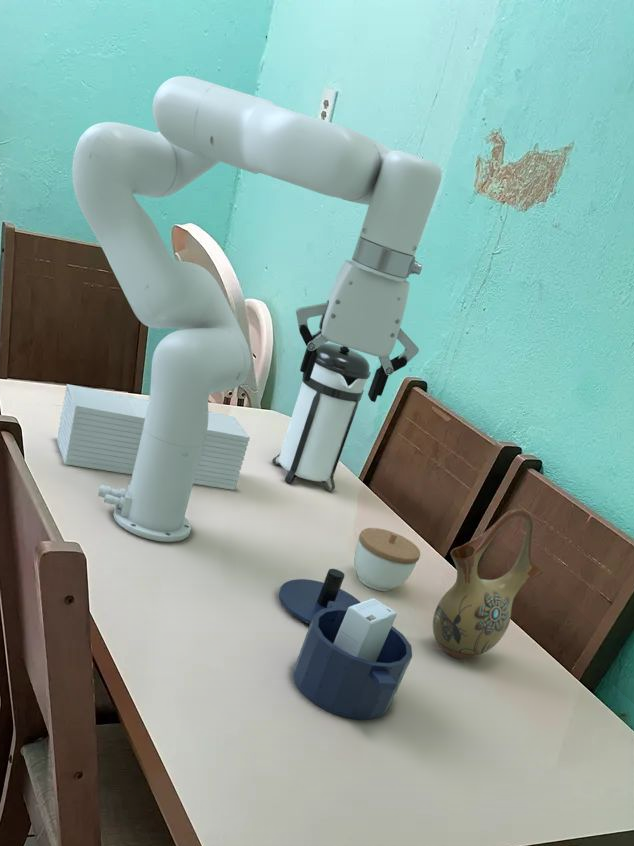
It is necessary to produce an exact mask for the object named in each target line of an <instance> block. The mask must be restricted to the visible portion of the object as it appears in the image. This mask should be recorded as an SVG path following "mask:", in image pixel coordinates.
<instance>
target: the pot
mask: <svg viewBox="0 0 634 846" xmlns="http://www.w3.org/2000/svg"><path fill="white" fill-rule="evenodd" d="M347 609H348V608H347V607H346V605H345V604H344V603H342V602H334V601H329V602H328V604H327V608H326V609H321V610H320V611H319V612H317V613H316V614H315V615H314V616H313V618H312V621H311V624H309V627H308V629H307V632H306V634H305V637H304V641H303V643H302V645H301V648H300V651H299V654H298V656H297V659H296V661H295V665H294V669H293V675H292V677H293V681H294V683H295V685H296V687H297V689H298V691H300V693H301V694H302V695H303V696H304V697H305V698H306V699H307V700H309V701H310V702H311V703H313V704H314V705H315V706H317V707H319V708H321V709H323V710H325V711H326V712H329V713H332V714H334V715H336V716H339V717H342V718H346V719H347V718H348V719H352V720H372V719H377V718H379V717H381V716H383V715H384V714H385V713H386V712H387V711H388V709H389V708H390V706H392V702H393V701H394V698H395V697H396V694H397V691H398V690H399V688H400V686H401V682H402V680H403V678H404V676H405V674H406V671H407V670H408V668H409V665H410V663H411V660H412V658H413V649H412V645H411V644H410V642H409V640H408V639H407V638H406V636H405V635H404V634H403V633H402V632H401V631H400V630H398V629H397V628H396V627H394V626H393V625H392V627H391V629H390V631H389V633H388V636H387V638H386V640H385V642H384V645H383V647H382V649H381V651H380V654H379V656H378V658H377V661H376V662H371V661H367V660H364V659H361V658H358V657H355V656H352V655H350V654H348V653H347V652H345V651H343V650H341V649H339V648H337V647H336V646H335V645H334V644H333V643H334V641H335V638H336V636H337V634H338V631H339V629H340V626H341V624H342V622H343V619H344V617H345V614H346V612H347Z"/></svg>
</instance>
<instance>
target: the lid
mask: <svg viewBox="0 0 634 846" xmlns="http://www.w3.org/2000/svg"><path fill="white" fill-rule="evenodd" d="M345 577H346V576H345V573H344V572H343V571H342V570H339V569H336V568H329V569H328V570H327V573H326V575H325V579H324V581H319V580H314V579H307V578H299V579H291V580H287V581H286V582H284V583H283V584H282V585H281V586H280V588H279V590H278V598H279V601H280V603H281V604H282V606H283V607H284V608H285V609H286V611H288V612H289V613H290V614H292V616H294V617H295V618H297V619H299V620H300V621H302V622H304V623H306V624H308V625H310V624H311V621H312V618H313V616H314V615H315V614H316V613H317V612H319V611H320V610H321V609H326V608H327V604H328V602H329V601H334V602H342V603H344V604H345V605H346V607H347V608H348V607H350V606H353V605H356V604H358V603H361V601H360V600H359V599H358V598H357V597H355V596H354V595H352V594H351V593H349V592H347V591H346V590H344V589H342V588H341V587H342V584H343V582H344V578H345Z"/></svg>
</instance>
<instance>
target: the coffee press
mask: <svg viewBox="0 0 634 846" xmlns="http://www.w3.org/2000/svg"><path fill="white" fill-rule="evenodd" d="M317 354H318V355H317V359H316V362H315V365H314V368H313V371H312V374H311V377H310V380H309V381H308V382H307V381H304V379H303V377H302V378H301V380H302V382H301V386H300V389H299V392H298V395H297V397H296V401H295V404H294V408H293V411H292V414H291V416H290V417H291V418H290V420H289V424H288V427H287V430H286V433H285V437H284V440H283V443H282V446H281V449H280V452H279V454H278V455H277V456H275V457H273V458H272V464H273V465H274V466H279V465H280V466H281V467H282V468H283V469H284V470H286V471H287V472H288V473H287V474H286V476H285V477H284V482H286V483H288V484H289V485H292V484H293V483H294V482H295V480H296V479H297V478H301V479H304V480H308V481H312V482H321V483H322V484H323V485H324V487H325V489H326V491H328V492H331V491H334V490H335V489H336V484H335V480H334V479H335V478H334V476H335V473H336V470H337V466H338V464H339V461H340V458H341V455H342V452H343V449H344V447H345V445H346V441H347V438H348V435H349V432H350V429H351V427H352V423H353V421H354V418H355V415H356V412H357V409H358V406H359V402H360V401H361V400H362V397H363V395H364V392H365V390H364V388H365V385H366V383H367V380H368V379H370V378H371V375H372V373H371V370H370V369H371V368H370V363H369V361H368V359H367V358H366V357H365V356H364V355H362V354H361V353H359V352H357V351H356V350H354V349H351V348H348V347H345V346H342V345H338V344H335V343H327V342H326V343H324V344H323V345H321V346H320V347H318V348H317ZM277 459H278V461H279V463H278V462H277ZM328 480H330V484H331V488H330V486H329V483H328V482H327V481H328Z"/></svg>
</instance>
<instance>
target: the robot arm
mask: <svg viewBox="0 0 634 846" xmlns="http://www.w3.org/2000/svg"><path fill="white" fill-rule="evenodd" d="M152 118H153V122H154V124H155V126H156V129H157V130H158V131H157V132H155V131H151V130H149V129H144V128H141V127H138V126H134V125H131V124H126V123H123V122H117V121H105V122H104V121H103V122H99V123H95V124H93V125H91V126H89V127H88V128H87V129H86V130H85V131H84V132H82V134H81V135H80V137H79V139H78V141H77V144H76V146H75V149H74V152H73V157H72V164H71V165H72V167H71V169H72V170H71V171H72V172H71V175H72V186H73V192H74V195H75V198H76V201H77V204H78V207H79V209H80V210H81V213H82V215H83V217H84V219H85V221H86V222H87V225H88V226H89V228H90V230H91V231H92V233H93V235H94V236H95V239H96V240H97V242H98V244H99V245H100V247H101V249H102V251H103V253H104V255H105V257H106V259H107V261H108V263H109V266H110V269H111V270H112V272H113V274H114V276H115V278H116V280H117V282H118V284H119V286H120V288H121V290H122V292H123V293H124V296H125V299H126V300H127V302H128V304H129V306H130V309H131V310H132V312H133V313H134V315H135V317H136V318H137V319H138V321H139V322H140V323H141V324H142V325H144V326H146V327H149V328H150V329H158V330H160V329H163V330H165V329H168V330H169V329H178V330H175V331H173V332H170V333H168V334H167V335H166V336H164V337H163V338H162V339H161V340H160V341H159V342H158V344H157V346H156V347H155V349H154V352H153V354H152V359H151V369H150V388H149V389H150V390H149V397H148V400H149V402H148V408H147V413H146V417H145V422H144V427H143V431H142V436H141V440H140V444H139V449H138V453H137V457H136V462H135V466H134V470H133V475H132V474H131V480H130V484H128V485H127V488H122V487H121V488H120V489H118V488H115V487H112V486H108V485H106V484H100V486H99V491H98V497H101V498H104V501H103V503H104V504H109V505H115V507H114V510H113V518H114V520H115V522H116V523H117V525H119V526H120V527H121V528H123V529H124V530H126V531H127V532H129V533H131V534H133V535H135V536H138V537H141V538H143V539H147V540H151V541H156V542H164V543H173V542H181V541H183V540H185V539H187V538H188V537H189V536H190V533H191V530H192V524H191V522H190V521H189V520H188V518H187V517H186V516H185V515H186V512H187V508H188V505H189V501H190V497H191V493H192V490H193V485H194V484H193V482H194V478H195V475H196V471H197V467H198V464H199V460H200V456H201V452H202V449H203V445H204V440H205V437H206V433H207V428H208V419H209V413H208V411H209V399H210V395H213V394H218V393H225V392H229V391H231V390H235V389H237V388H238V387H240V386H242V384H243V383H244V382H245V381H246V380H247V378H248V376H249V374H250V371H251V365H252V359H251V351H250V347H249V344H248V342H247V340H246V337H245V335H244V333H243V331H242V328H241V327H240V324H239V322H238V321H237V319H236V316H235V313H234V312H233V310H232V308H231V306H230V304H229V302H228V300H227V298H226V296H225V294H224V292H223V290H222V288H221V286H220V284H219V283H218V281H217V280H216V278H215V277H214V276H213V274H211V272H210V271H208V269H206V268H205V267H203V266H202V265H200V264H197V263H194V262H190V261H181V260H177V259H176V258H174V257H173V255H172V254H171V253H170V251H169V249H168V247H167V246H166V243H165V242H164V240H163V239H162V236H161V234H160V232H159V229H158V227H157V226H156V224H155V222H154V220H153V219H152V218H151V217H150V215H149V214H148V213H147V212H146V211H145V209H144V208H143V207H142V206H141V204H140V203H139V202H138V201H137V199H136V197H135V195H139V196H143V197H150V198H165V197H169V196H171V195H174V194H175V193H177V192H179V191H180V190H182V189H183V188H185V187H187V186H188V185H189V184H191V183H192V182H194V181H195V180H196V179H198V178H199V177H201V176H202V175H204V174H205V173H207V172H208V171H209V170H211V169H212V168H214V167H215V166H217V165H218V164H219V163H223V164H226V165H229V166H232V167H235V168H237V169H241V170H243V171H246V172H249V173H252V174H254V175H257V174H263V175H265V176H268V177H272V178H274V179H277V180H280V181H283V182H285V183H288V184H292V185H294V186H297V187H301V188H303V189H306V190H309V191H312V192H315V193H318V194H321V195H324V196H327V197H332V198H336V199H341V200H343V201H347V202H352V203H356V204H361V205H367V210H366V214H365V217H364V220H363V223H362V226H361V230H360V232H359V236H358V239H357V242H356V245H355V248H354V250H353V254H352V257H351V260H349V259H344V260H343V263H342V264H341V266H340V268H339V270H338V273H337V275H336V277H335V279H334V282H333V284H332V287H331V289H330V291H329V294H328V297H327V300H326V302H323V303H317V304H311V305H307V306H301V307H298V308H296V310H295V312H296V320H297V325H298V331H299V334H300V336H301V338H302V340H303V342H304V344H305V347H306V349H305V352H304V355H303V358H302V361H301V363H300V368H299V372H300V373H302V378H303V379H304V381H307V382H308V381H309V380H310V377H311V374H312V371H313V368H314V365H315V362H316V359H317V355H318V354H317V348H318V347H320V346H321V345H323V344H325V343H327V342H330V343H332V344H335V345H339V346H342V347H343V346H345V347H348V349H351V350H353V351H356V352H357V351H358V352H361V353H364V354H367V355H370V356H374V357H377V358H378V360H379V362H380V366H379V367H378V368H376V371H375V373H374V375H373V378H372V381H371V384H370V387H369V389H368V392H367V396H368V398H369V400H370V402H373V403H376V402H377V398H378V396H379V397H382V395H383V392H384V390H385V388H386V385H387V382H388V380H389V376H391V375H393V373H394V372H397V371H399V370H401V369H402V368H404V367H406V366H407V364H408V363H409V362H410V361H411V360H413V358H415V356H416V355H418V353H419V352H420V351H419V350H420V348H419V347H418V346H417V345H416V343H415V342H414V341H413V340H412V339H411V338H410V337H409V335H408V334H407V333H406V332H405V331H404V330H403V329H402V328H401V325H402V322H403V318H404V314H405V310H406V306H407V301H408V296H409V291H410V281H408V280H407V279H408V278H409V276H411V275H414V274H415V275H418V276H419V275H420V274H421V272H422V269H423V263H420V262H418V261H417V260H416V256H415V255H416V253H417V250H418V247H419V244H420V242H421V239H422V235H423V233H424V230H425V228H426V225H427V222H428V219H429V216H430V213H431V210H432V208H433V206H434V202H435V199H436V196H437V193H438V191H439V188H440V186H441V185H440V184H441V182H442V170H441V168H440V166H439V165H438V164H437V163H435V162H433V161H430V160H428V159H426V158H423V157H421V156H418V155H415V154H412V153H411V152H410V153H409V152H406V151H402V150H399V149H392V148H390V147H388V146H386V145H384V144H383V143H381V142H380V141H378V140H376V139H374V138H372V137H369V136H367V135H365V134H362V132H361V133H360V132H358V131H356V130H354V129H351V128H349V127H346V126H344V125H341V124H336V123H333V122H330V121H327V120H324V119H321V118H316V117H314V116H310V115H307V114H304V113H301V112H297V111H294V110H291V109H288V108H284V107H281V106H278V105H276V104H275V103H274V102H273V101H271V100H268V99H265V98H263V97H259V96H255V95H252V94H248V93H246V92H242V91H239V90H236V89H233V88H230V87H226V86H223V85H220V84H216V83H214V82H210V81H207V80H204V79H201V78H198V77H194V76H188V75H178V76H173V77H170V78H168V79H166V80H165V81H163V83H162V84H160V86H159V87H158V89H157V90H156V92H155V94H154V97H153V100H152ZM320 316H321V317H320ZM314 317H320V320H319V324H318V328H319V330H318V331H316V332H314V333H313V334H312V333H311V331H310V329H309V325H308V320H309V319H310V318H314ZM397 340H398V342H399V343H400V344H401V345H402V346H403V347H404V350H403V351H402V352H401V354H399V355H397V356H396V357H394V358H391V357H390V356H391V354H392V352H393V350H394V348H395V346H396V342H397Z"/></svg>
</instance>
